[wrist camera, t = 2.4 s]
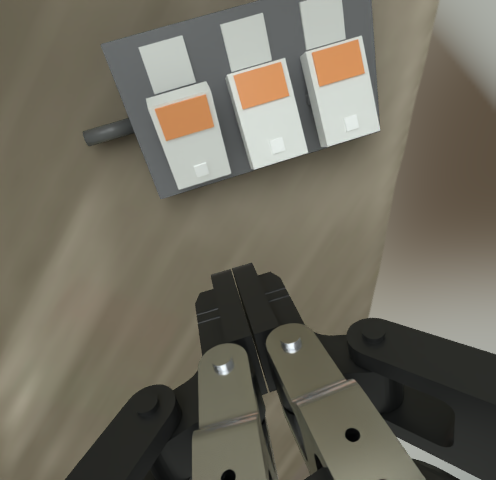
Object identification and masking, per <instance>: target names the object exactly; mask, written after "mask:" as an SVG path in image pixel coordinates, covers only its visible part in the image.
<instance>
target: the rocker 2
mask: <svg viewBox="0 0 496 480" xmlns="http://www.w3.org/2000/svg"><path fill="white" fill-rule="evenodd" d="M300 60H301V65H302V69H303V73H304V77H305V82H306V86H307V90H308V94H309V99H310V103H311V107H312V111H313V115H314V120H315V124H316V128H317V132H318V137H319V141H320V145H321V147H329V146H332V145H335V144H338V143H342V142H345V141H348V140H351V139H354V138H358V137H361V136H364V135H367V134H371V133H374V132H377V131H380V126H379V121H378V116H377V111H376V106H375V100H374V95H373V90H372V85H371V80H370V75H369V70H368V64H367V59H366V54H365V49H364V44H363V39H362V36H358V37H355V38H351V39H348V40H345V41H341V42H338V43H334V44H331V45H327V46H324V47H320V48H317V49H313V50H310V51H307V52H305V53H304V54H303V55H301V56H300Z"/></svg>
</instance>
